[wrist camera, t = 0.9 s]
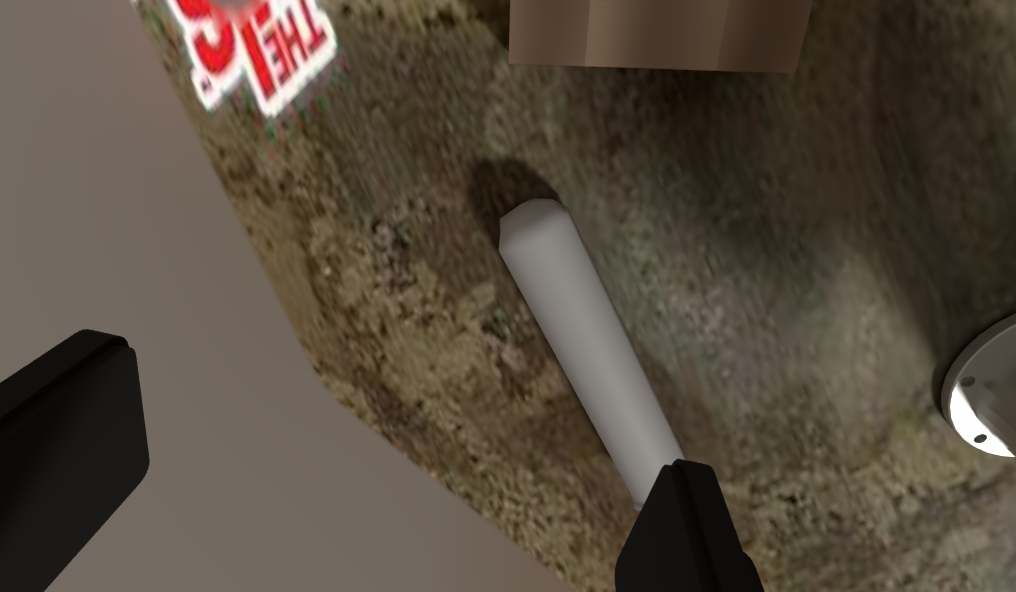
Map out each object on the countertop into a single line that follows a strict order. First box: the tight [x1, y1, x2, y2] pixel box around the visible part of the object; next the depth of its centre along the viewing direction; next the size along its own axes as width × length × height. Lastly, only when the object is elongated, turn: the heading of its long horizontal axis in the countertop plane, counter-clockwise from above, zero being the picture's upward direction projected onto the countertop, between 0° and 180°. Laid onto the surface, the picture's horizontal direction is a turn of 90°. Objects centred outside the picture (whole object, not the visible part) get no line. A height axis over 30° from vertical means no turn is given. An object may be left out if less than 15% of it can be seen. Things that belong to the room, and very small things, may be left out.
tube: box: [499, 198, 687, 511], centre depth 37 cm, size 5×5×25 cm
